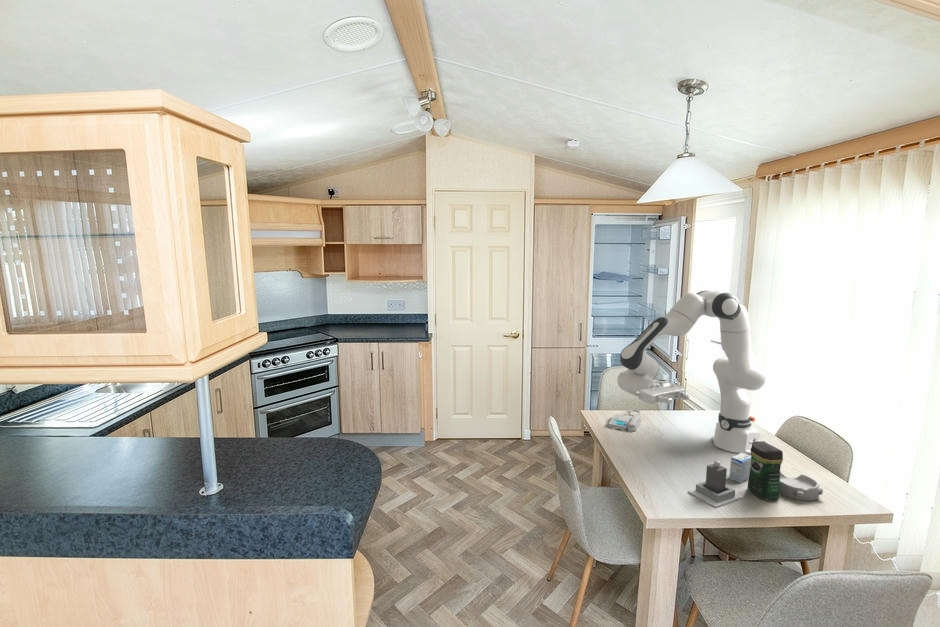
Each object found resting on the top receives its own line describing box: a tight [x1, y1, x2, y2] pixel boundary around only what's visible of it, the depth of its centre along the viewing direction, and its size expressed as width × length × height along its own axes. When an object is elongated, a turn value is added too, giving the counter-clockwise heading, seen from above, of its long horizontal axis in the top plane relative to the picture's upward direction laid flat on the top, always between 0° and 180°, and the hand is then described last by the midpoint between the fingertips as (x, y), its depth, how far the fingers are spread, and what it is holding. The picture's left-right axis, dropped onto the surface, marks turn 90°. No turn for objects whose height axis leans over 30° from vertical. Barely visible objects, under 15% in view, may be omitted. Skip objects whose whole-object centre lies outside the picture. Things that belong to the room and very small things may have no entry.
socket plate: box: [687, 480, 743, 509], centre depth 161 cm, size 14×11×3 cm
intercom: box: [607, 408, 642, 433], centre depth 230 cm, size 13×4×25 cm
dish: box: [780, 471, 824, 501], centre depth 163 cm, size 14×14×5 cm
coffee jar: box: [747, 440, 784, 501], centre depth 160 cm, size 10×8×19 cm
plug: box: [705, 460, 728, 494], centre depth 160 cm, size 4×4×12 cm
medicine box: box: [728, 453, 751, 484], centre depth 172 cm, size 8×4×9 cm, turn 123°
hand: (679, 399), depth 172 cm, fingers open, 8 cm apart
